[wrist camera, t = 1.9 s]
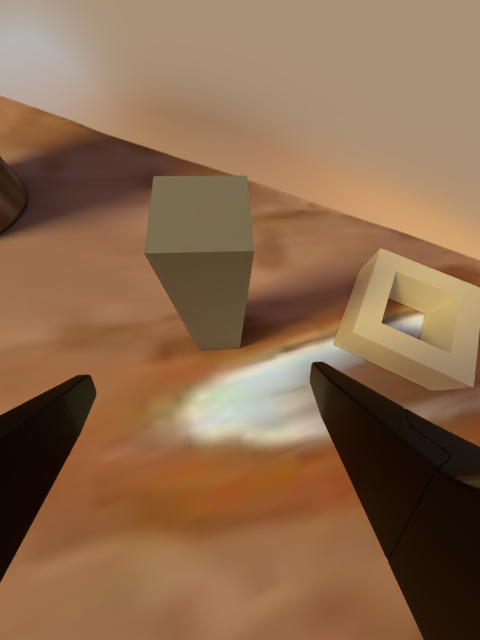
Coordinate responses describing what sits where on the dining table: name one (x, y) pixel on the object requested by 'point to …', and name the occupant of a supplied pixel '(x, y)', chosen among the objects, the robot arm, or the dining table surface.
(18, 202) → the plant pot
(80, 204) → the dining table surface
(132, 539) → the dining table surface
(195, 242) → the post
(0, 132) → the dining table surface
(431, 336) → the collar
